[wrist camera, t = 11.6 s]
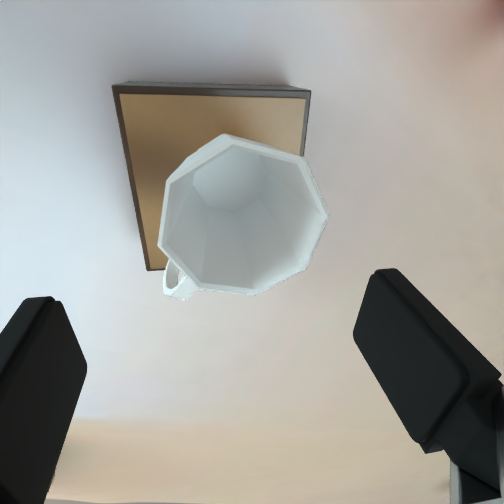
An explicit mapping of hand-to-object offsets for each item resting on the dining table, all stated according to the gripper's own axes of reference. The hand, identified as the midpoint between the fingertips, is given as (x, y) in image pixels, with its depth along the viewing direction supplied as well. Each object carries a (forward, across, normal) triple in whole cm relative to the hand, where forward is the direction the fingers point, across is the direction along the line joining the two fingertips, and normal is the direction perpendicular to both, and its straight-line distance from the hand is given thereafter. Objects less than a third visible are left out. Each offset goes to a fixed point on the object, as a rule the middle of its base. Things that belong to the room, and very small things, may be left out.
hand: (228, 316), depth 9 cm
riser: (+16, -1, 0) cm, 16 cm away
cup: (+12, 0, 0) cm, 12 cm away
